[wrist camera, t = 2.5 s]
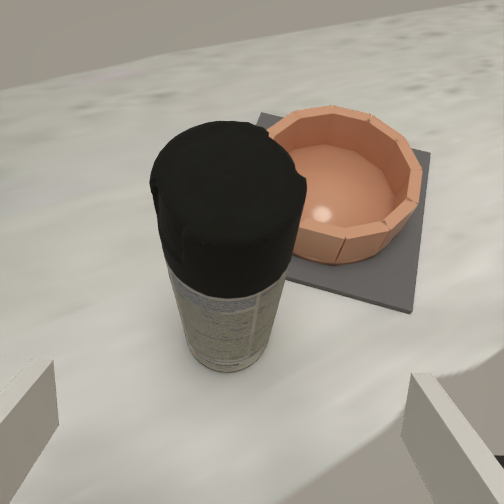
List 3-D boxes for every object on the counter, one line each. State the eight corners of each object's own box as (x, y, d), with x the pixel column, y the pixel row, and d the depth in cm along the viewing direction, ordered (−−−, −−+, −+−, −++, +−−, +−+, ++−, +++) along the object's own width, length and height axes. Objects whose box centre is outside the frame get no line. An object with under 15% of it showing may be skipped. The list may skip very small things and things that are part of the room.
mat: (206, 257, 38) (205, 254, 38) (260, 116, 47) (261, 112, 46) (409, 314, 37) (412, 311, 36) (428, 156, 45) (430, 153, 45)
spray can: (243, 281, 37) (254, 95, 20) (286, 348, 35) (341, 201, 17) (172, 317, 36) (116, 147, 18) (212, 391, 33) (190, 276, 15)
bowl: (234, 241, 39) (235, 210, 34) (274, 129, 45) (279, 92, 41) (391, 283, 37) (411, 257, 33) (408, 162, 44) (427, 127, 40)
